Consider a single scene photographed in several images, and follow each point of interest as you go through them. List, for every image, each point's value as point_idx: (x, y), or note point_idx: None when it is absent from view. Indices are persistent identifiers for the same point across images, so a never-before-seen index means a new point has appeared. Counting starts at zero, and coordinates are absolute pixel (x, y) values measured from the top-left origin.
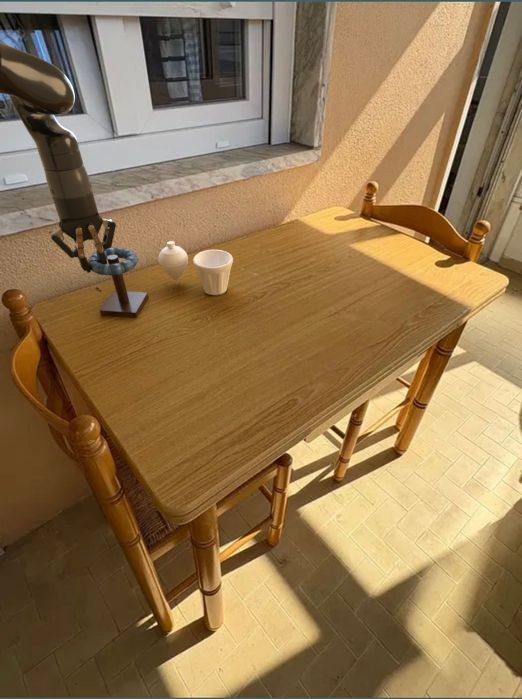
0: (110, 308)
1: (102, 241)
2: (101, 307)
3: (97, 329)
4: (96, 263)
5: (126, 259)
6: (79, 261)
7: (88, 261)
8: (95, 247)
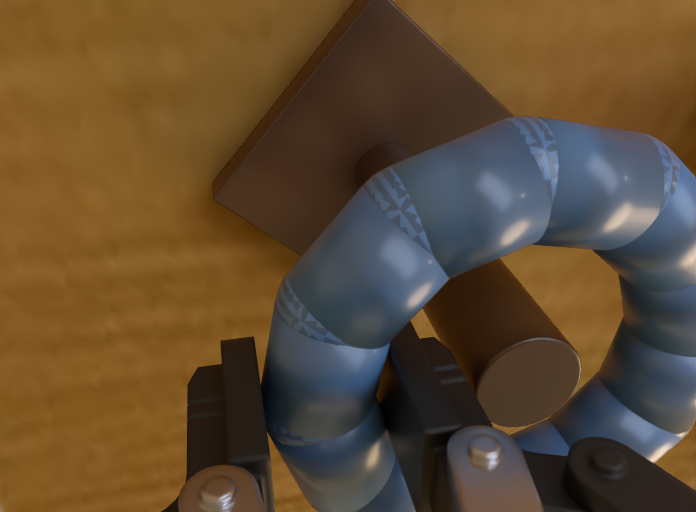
0: (283, 214)
1: (583, 484)
2: (234, 175)
3: (163, 303)
4: (344, 489)
5: None
6: (188, 440)
7: (286, 374)
8: (448, 471)
